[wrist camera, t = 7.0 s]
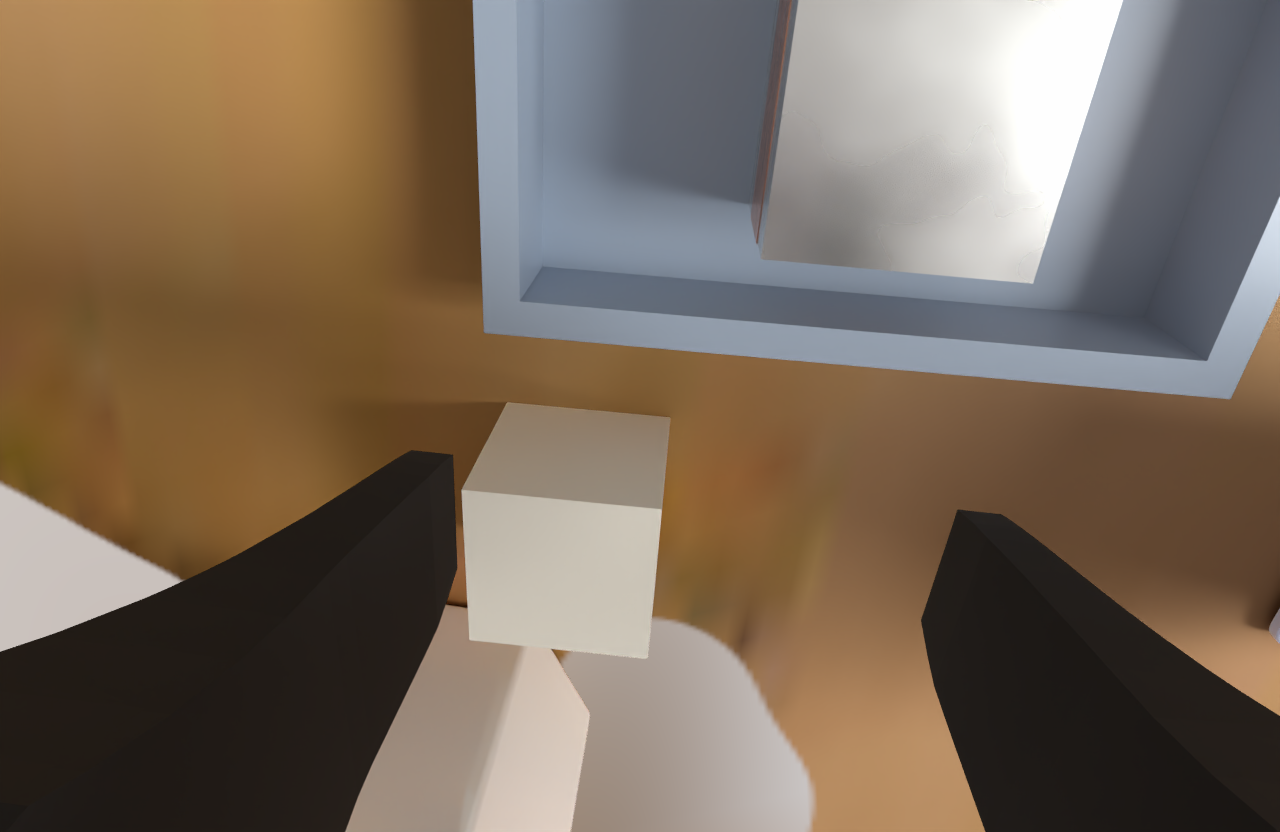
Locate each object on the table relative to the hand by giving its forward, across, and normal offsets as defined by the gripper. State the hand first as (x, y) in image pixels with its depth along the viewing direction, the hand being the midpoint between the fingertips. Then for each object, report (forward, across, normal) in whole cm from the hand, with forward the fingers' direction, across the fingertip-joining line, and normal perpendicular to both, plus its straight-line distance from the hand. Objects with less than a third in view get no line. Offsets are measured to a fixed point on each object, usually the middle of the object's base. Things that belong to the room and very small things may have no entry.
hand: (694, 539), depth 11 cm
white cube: (+10, +3, +5) cm, 11 cm away
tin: (+9, -3, -5) cm, 11 cm away
